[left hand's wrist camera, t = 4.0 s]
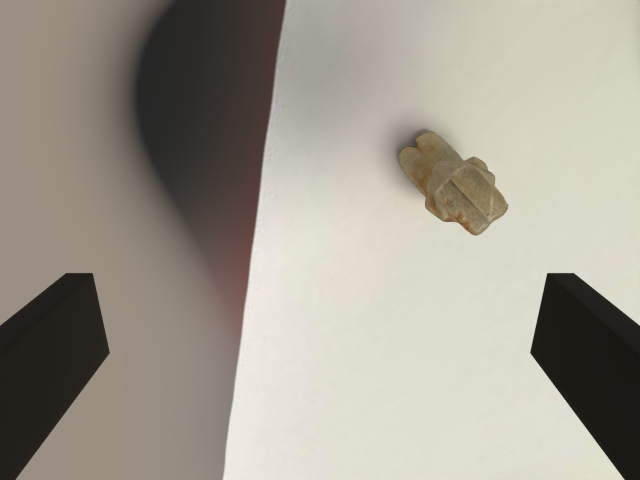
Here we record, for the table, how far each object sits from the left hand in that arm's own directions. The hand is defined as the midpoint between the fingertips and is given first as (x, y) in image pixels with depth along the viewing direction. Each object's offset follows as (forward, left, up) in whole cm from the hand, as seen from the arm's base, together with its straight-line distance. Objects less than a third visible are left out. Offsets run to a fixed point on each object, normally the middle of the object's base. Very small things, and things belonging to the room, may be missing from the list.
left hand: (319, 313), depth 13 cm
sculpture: (0, +12, -33) cm, 35 cm away
